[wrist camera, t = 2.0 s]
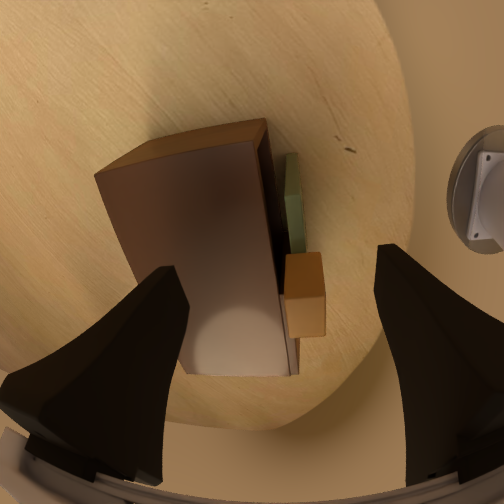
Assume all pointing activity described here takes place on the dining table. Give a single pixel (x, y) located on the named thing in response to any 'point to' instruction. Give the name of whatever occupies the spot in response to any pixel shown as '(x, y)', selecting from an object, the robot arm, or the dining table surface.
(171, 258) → the cabinet
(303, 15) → the dining table surface
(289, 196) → the green drawer
